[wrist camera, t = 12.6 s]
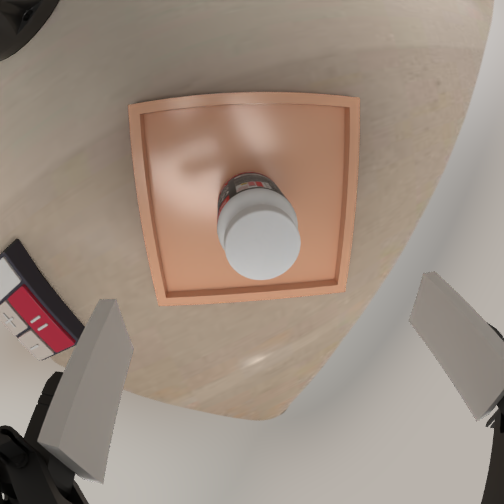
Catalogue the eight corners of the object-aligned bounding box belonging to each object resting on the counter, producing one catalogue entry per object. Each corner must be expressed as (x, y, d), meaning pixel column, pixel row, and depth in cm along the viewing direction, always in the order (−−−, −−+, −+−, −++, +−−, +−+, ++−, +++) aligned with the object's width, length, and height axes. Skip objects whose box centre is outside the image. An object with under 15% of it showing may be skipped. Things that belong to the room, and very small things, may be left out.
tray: (134, 105, 22) (127, 105, 20) (350, 98, 23) (359, 97, 22) (161, 295, 31) (158, 306, 29) (339, 282, 32) (345, 291, 30)
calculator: (39, 365, 31) (-29, 289, 24) (48, 345, 34) (-14, 272, 27) (79, 347, 29) (0, 253, 22) (89, 324, 33) (18, 236, 26)
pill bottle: (212, 176, 25) (206, 209, 16) (275, 166, 25) (306, 192, 16) (224, 235, 27) (225, 294, 19) (283, 224, 28) (311, 278, 19)
